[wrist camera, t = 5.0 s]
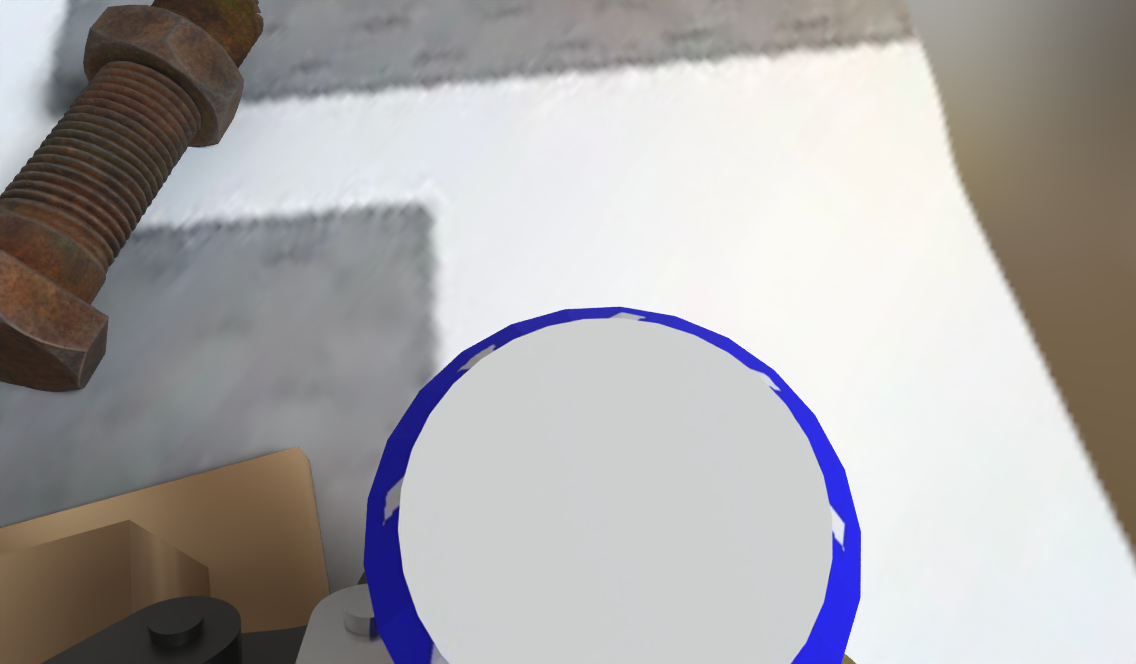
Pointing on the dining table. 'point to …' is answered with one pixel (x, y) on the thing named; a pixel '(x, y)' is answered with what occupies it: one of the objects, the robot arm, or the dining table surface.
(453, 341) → the dining table surface
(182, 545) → the wooden square frame base
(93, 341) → the bolt
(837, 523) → the bolt
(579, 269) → the dining table surface
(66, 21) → the dining table surface
